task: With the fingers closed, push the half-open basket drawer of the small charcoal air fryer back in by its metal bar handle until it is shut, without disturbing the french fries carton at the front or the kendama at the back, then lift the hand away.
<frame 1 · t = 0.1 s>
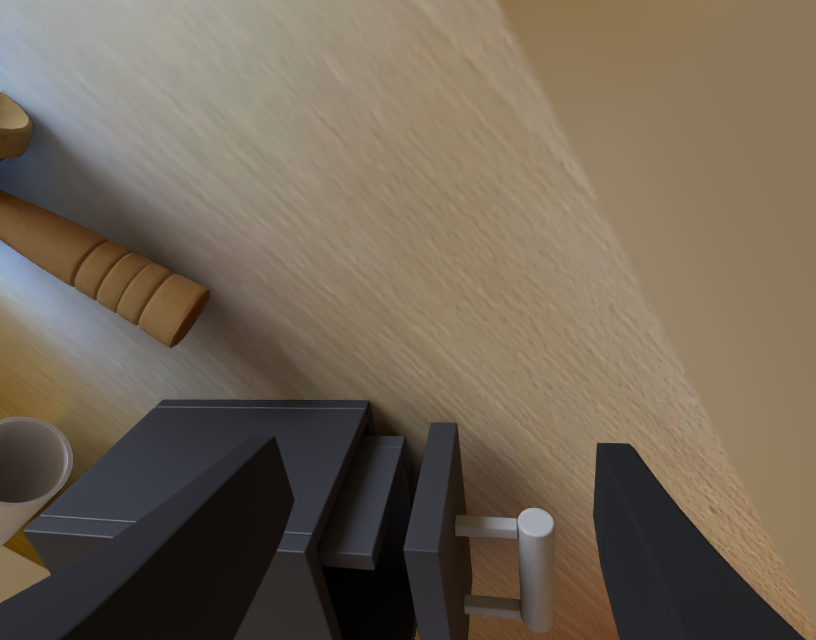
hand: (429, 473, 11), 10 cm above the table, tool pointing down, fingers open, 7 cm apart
drawer: (386, 560, 21), point 4 cm above the table, slide at 3.0 cm
kendama: (40, 183, 21), on the table
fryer: (287, 484, 27), on the table
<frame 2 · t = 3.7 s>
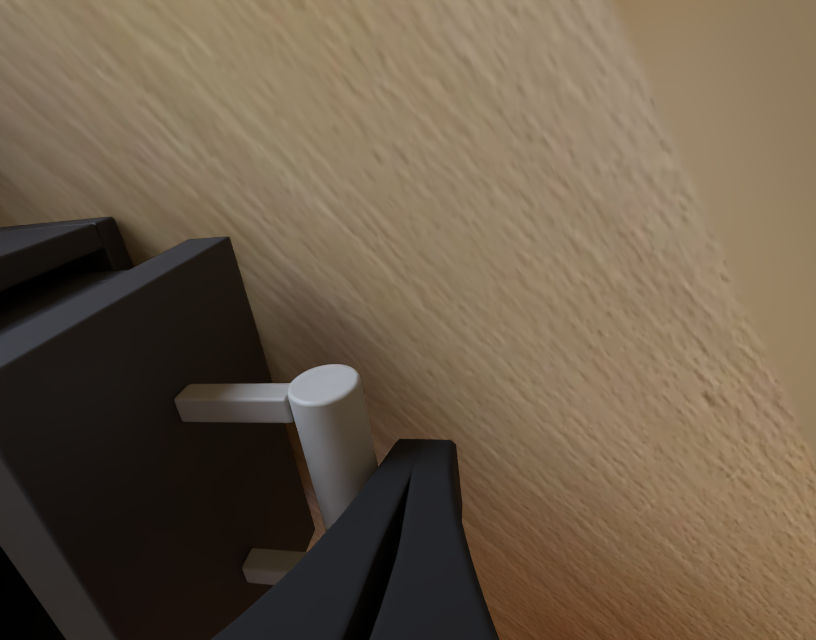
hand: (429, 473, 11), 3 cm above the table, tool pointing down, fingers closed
drawer: (102, 486, 12), point 4 cm above the table, slide at 2.6 cm, touching gripper
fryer: (40, 389, 17), on the table
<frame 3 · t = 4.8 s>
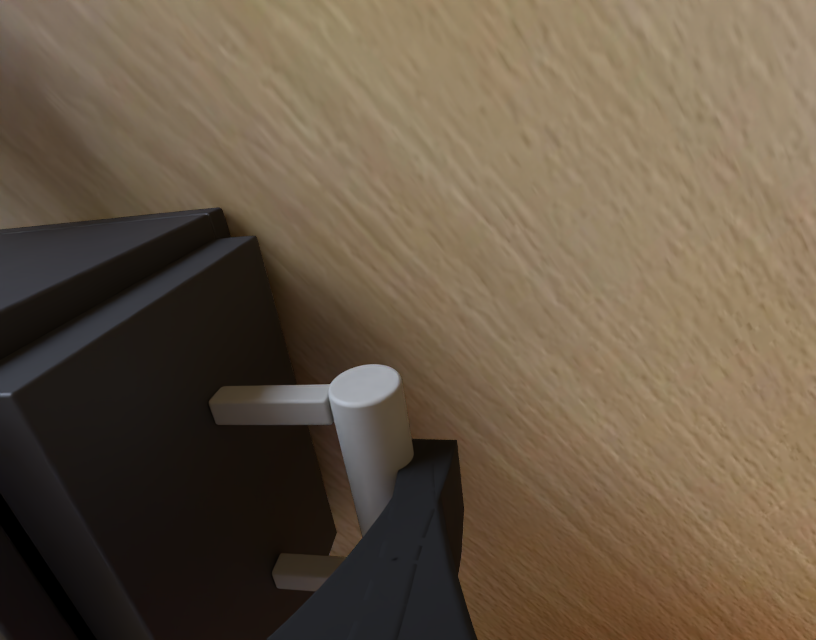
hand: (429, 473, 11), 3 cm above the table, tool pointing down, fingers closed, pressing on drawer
drawer: (127, 491, 12), point 4 cm above the table, slide at 0.0 cm, touching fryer, gripper
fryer: (119, 392, 16), on the table
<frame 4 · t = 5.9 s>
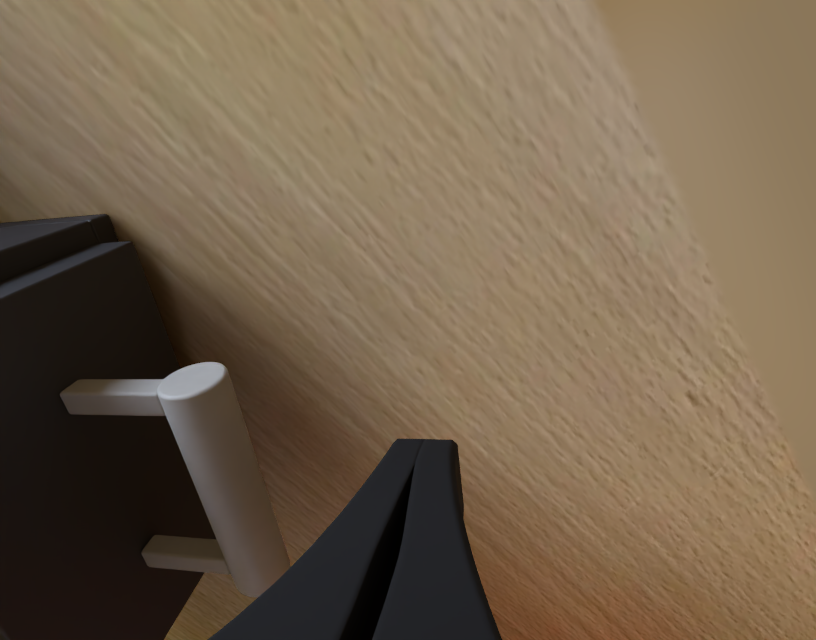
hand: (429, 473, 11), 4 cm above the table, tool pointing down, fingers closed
drawer: (10, 474, 13), point 4 cm above the table, slide at 0.0 cm, touching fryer
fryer: (34, 384, 17), on the table
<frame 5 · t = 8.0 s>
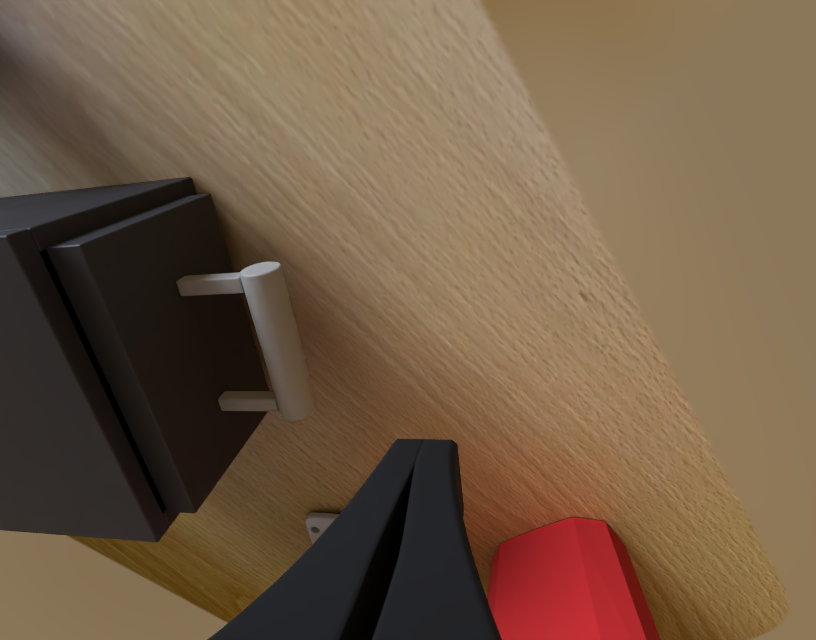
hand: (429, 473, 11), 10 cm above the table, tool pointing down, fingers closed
drawer: (131, 348, 19), point 4 cm above the table, slide at 0.0 cm, touching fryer
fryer: (126, 307, 24), on the table
french fries: (551, 552, 26), on the table
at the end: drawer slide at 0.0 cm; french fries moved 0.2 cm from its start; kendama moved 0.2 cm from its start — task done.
